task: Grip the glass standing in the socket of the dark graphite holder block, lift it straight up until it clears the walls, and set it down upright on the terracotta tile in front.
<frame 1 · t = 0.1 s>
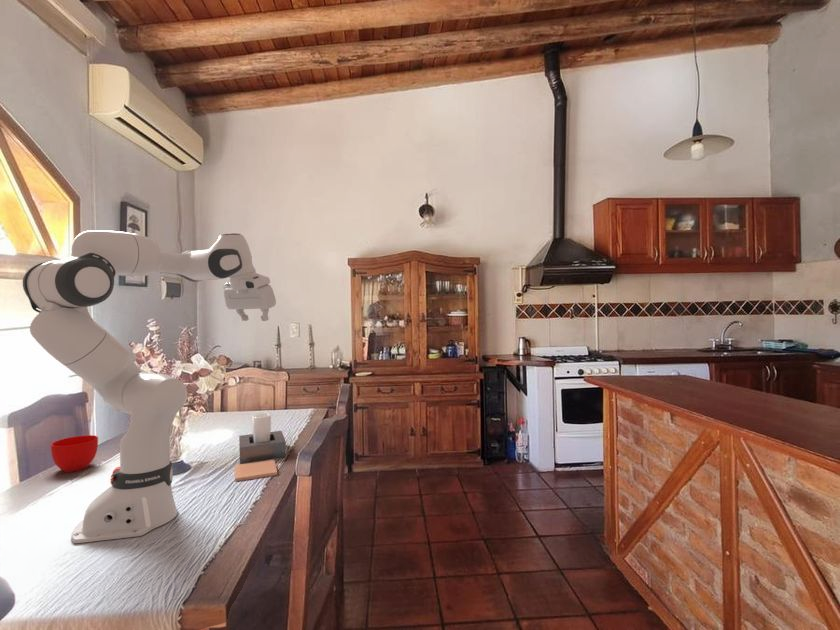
hand: (255, 320, 145), 52 cm above the table, tool tilted 20°, fingers open, 8 cm apart
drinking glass: (262, 454, 163), resting in holder block
holder block: (262, 454, 163), on the table
terracotta tile: (255, 471, 145), on the table
red bowl: (78, 467, 152), on the table
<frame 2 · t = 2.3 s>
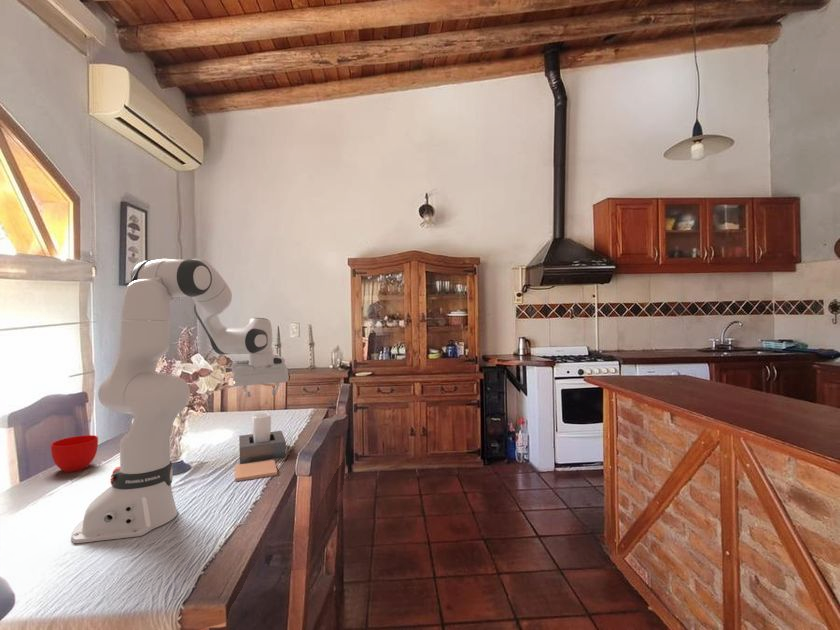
hand: (261, 395, 163), 23 cm above the table, tool pointing down, fingers open, 8 cm apart
nothing on the table moved.
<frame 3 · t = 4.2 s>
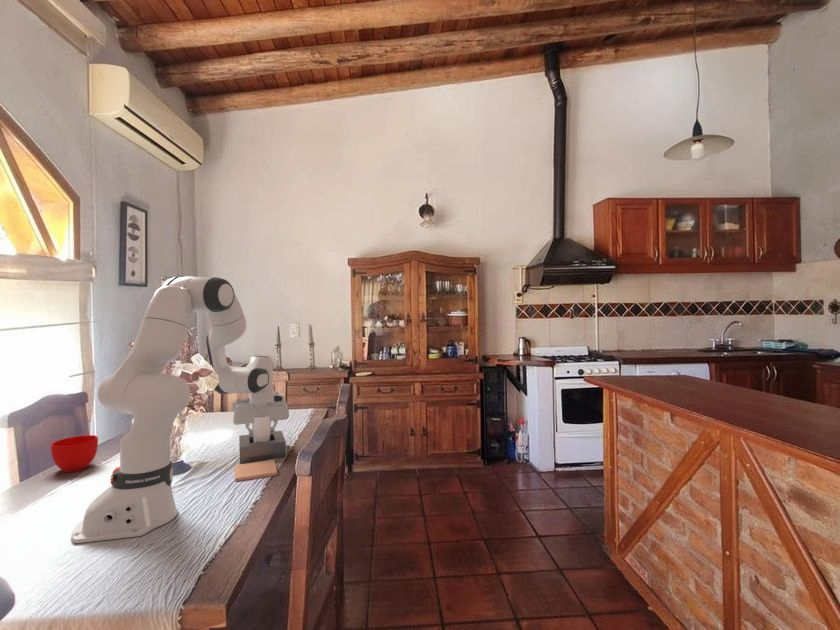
hand: (261, 433, 163), 8 cm above the table, tool pointing down, fingers open, 6 cm apart
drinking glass: (262, 454, 163), resting in holder block, touching gripper
everything else where it was.
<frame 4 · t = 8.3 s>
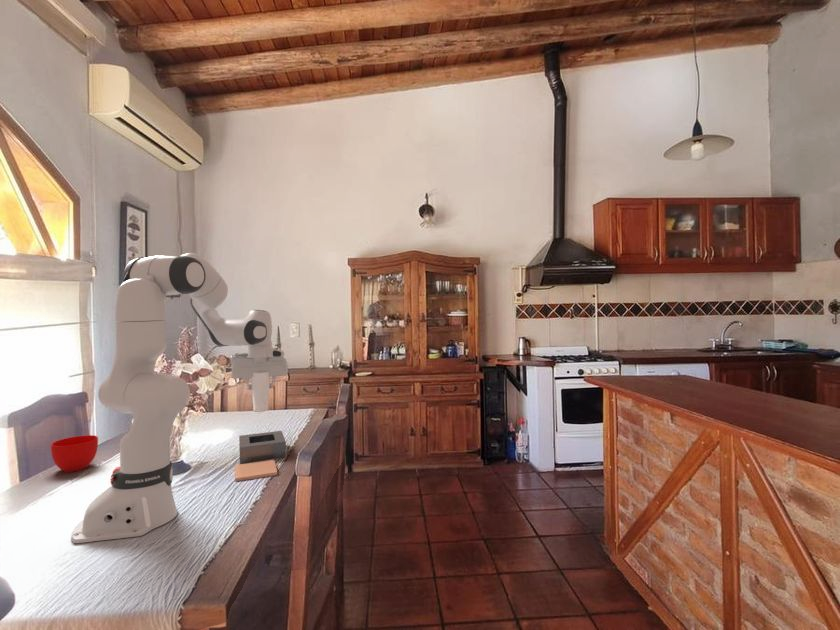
hand: (260, 388, 161), 26 cm above the table, tool pointing down, fingers closed on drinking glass, 6 cm apart
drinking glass: (260, 411, 161), point 17 cm above the table, touching gripper
everything else where it was.
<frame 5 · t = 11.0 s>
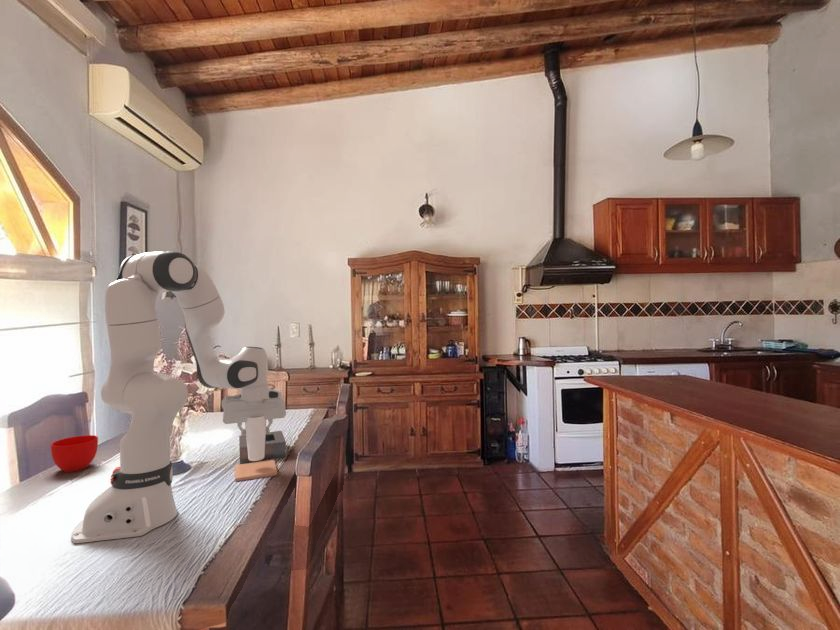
hand: (255, 433, 145), 13 cm above the table, tool pointing down, fingers closed on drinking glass, 6 cm apart
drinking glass: (256, 459, 145), point 4 cm above the table, touching gripper
everything else where it was.
when the fingers open (11 cm above the table, at t = 12.4 s): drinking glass moves 3 cm, resting on terracotta tile.
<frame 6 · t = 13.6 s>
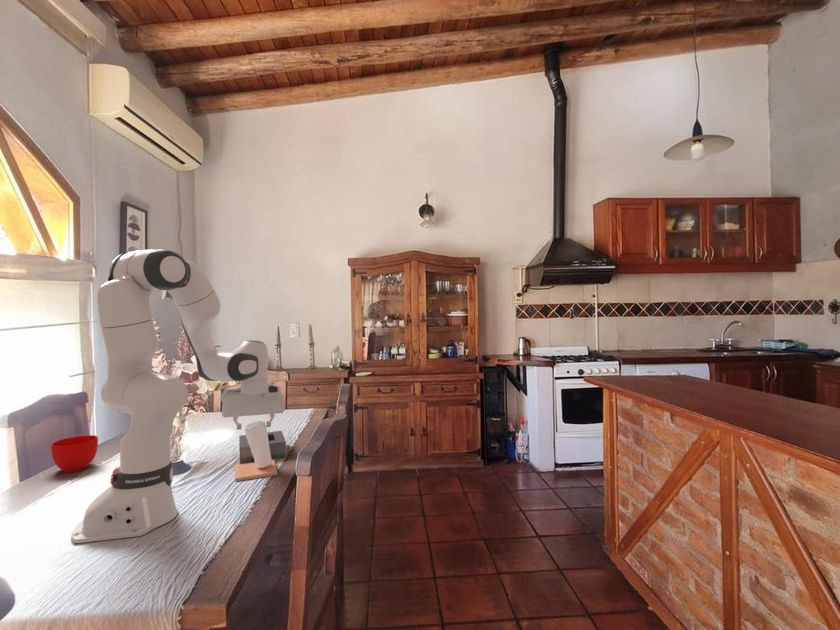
hand: (254, 428, 145), 15 cm above the table, tool pointing down, fingers open, 8 cm apart
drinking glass: (264, 465, 147), point 1 cm above the table, touching terracotta tile
everything else where it was.
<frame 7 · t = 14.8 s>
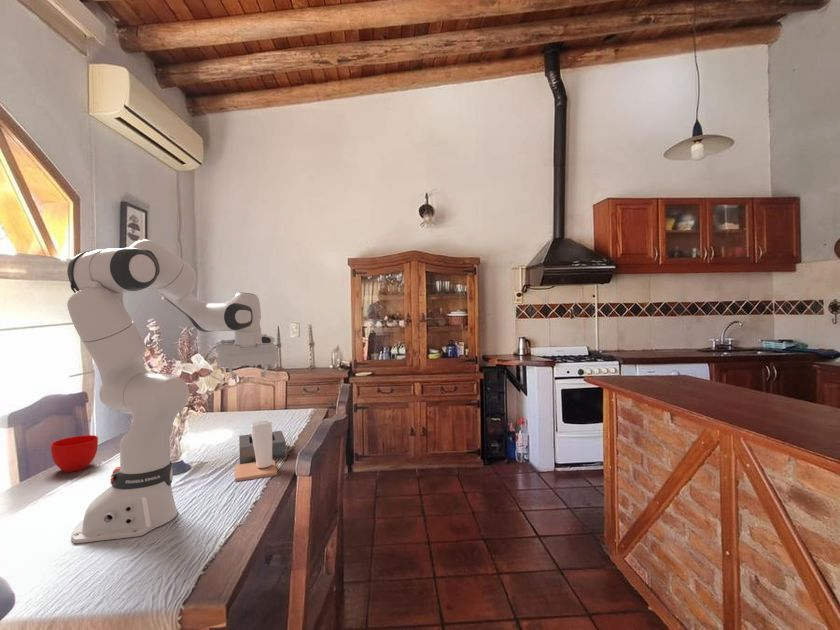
hand: (248, 378, 149), 32 cm above the table, tool pointing down, fingers open, 8 cm apart
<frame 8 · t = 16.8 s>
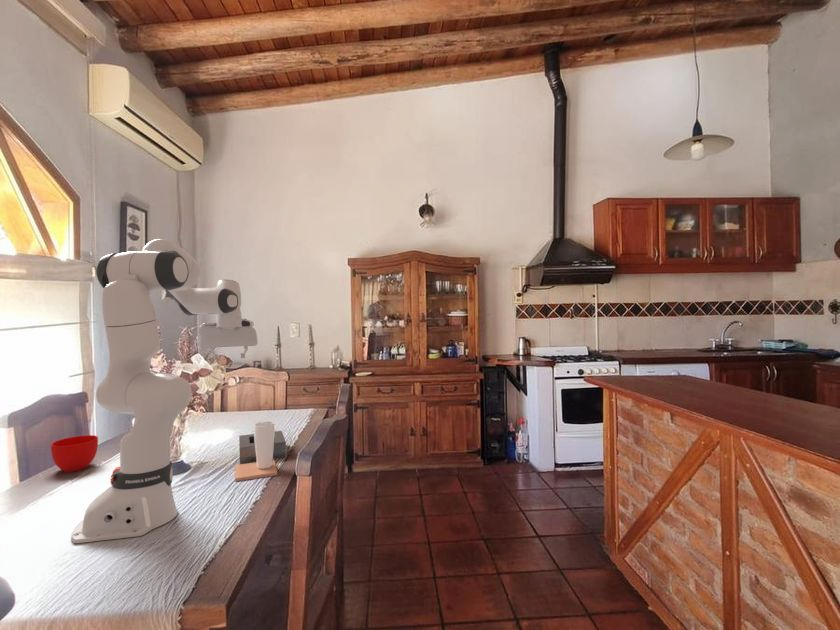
hand: (229, 358, 162), 37 cm above the table, tool pointing down, fingers open, 8 cm apart
at the end: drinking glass inside the target area on the terracotta tile (3.0 cm from its centre), point 0.8 cm above the terracotta tile's base; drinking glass tilted 1°; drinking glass touching terracotta tile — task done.
